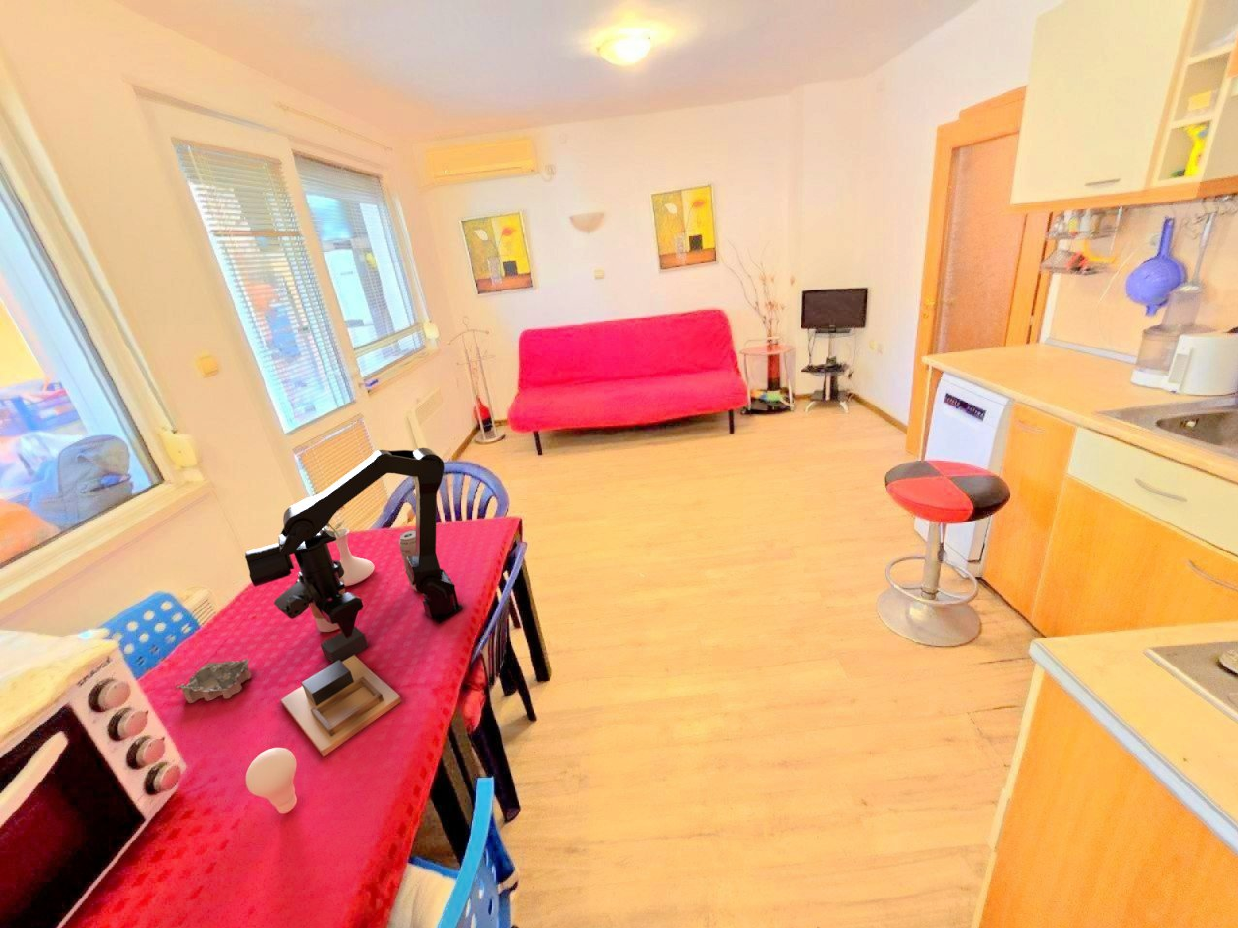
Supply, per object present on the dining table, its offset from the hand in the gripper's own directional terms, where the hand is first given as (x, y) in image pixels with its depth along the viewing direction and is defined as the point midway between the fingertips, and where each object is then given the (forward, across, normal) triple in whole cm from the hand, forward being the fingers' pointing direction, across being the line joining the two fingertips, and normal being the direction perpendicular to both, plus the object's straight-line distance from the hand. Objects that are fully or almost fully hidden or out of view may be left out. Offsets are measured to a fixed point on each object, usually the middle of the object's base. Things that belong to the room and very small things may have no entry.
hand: (339, 628), depth 106 cm
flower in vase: (+6, -29, +14) cm, 33 cm away
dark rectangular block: (+6, 0, 0) cm, 6 cm away
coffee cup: (+6, -12, +2) cm, 14 cm away
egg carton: (+6, -12, -20) cm, 24 cm away
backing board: (+6, +14, -7) cm, 16 cm away
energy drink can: (+6, -8, +23) cm, 25 cm away
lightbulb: (+6, +28, -21) cm, 36 cm away
